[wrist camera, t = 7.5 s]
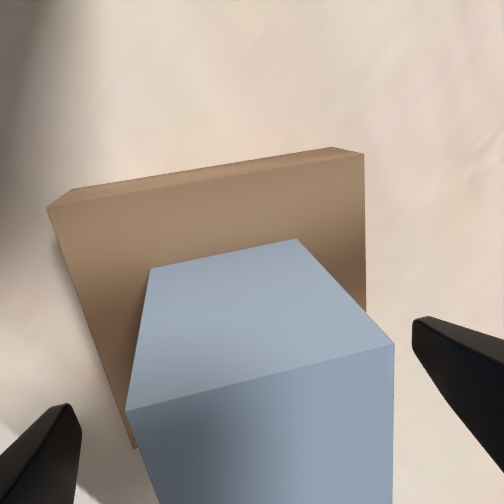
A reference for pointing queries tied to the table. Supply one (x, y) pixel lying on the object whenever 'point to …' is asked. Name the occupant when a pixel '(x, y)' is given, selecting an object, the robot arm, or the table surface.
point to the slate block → (261, 384)
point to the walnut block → (203, 234)
